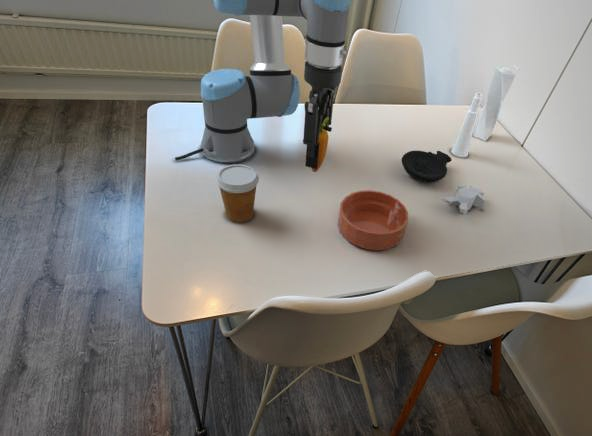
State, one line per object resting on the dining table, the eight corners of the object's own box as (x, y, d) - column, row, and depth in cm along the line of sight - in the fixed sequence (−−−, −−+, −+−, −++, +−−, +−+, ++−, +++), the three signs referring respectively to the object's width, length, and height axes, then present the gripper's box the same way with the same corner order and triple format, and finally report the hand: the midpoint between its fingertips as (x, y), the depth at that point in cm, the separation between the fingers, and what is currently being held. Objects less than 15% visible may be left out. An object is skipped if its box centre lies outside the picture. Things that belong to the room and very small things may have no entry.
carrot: (326, 168, 99) (332, 112, 90) (322, 179, 96) (328, 122, 86) (306, 164, 99) (310, 108, 90) (302, 175, 95) (305, 118, 86)
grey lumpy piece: (494, 193, 118) (471, 207, 108) (487, 207, 121) (464, 222, 111) (467, 178, 123) (442, 190, 112) (461, 192, 125) (436, 205, 115)
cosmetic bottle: (461, 148, 146) (480, 89, 132) (471, 156, 142) (492, 97, 128) (447, 149, 144) (466, 90, 130) (457, 158, 140) (477, 98, 126)
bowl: (346, 255, 95) (349, 236, 91) (331, 209, 107) (333, 191, 103) (413, 248, 100) (418, 231, 96) (391, 206, 112) (395, 189, 109)
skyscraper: (494, 137, 158) (522, 65, 140) (488, 143, 152) (516, 70, 135) (475, 129, 160) (500, 58, 143) (469, 135, 155) (494, 63, 137)
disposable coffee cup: (239, 232, 95) (237, 191, 88) (211, 215, 98) (206, 174, 91) (267, 213, 102) (267, 174, 95) (240, 198, 105) (237, 158, 98)
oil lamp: (462, 176, 131) (467, 163, 128) (423, 194, 119) (427, 180, 116) (429, 155, 138) (432, 142, 135) (389, 170, 127) (392, 156, 124)
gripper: (327, 82, 73) (317, 185, 88) (353, 54, 87) (341, 147, 102) (288, 72, 74) (285, 176, 89) (320, 46, 88) (313, 140, 103)
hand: (315, 160), depth 95 cm, fingers closed on carrot, 5 cm apart
